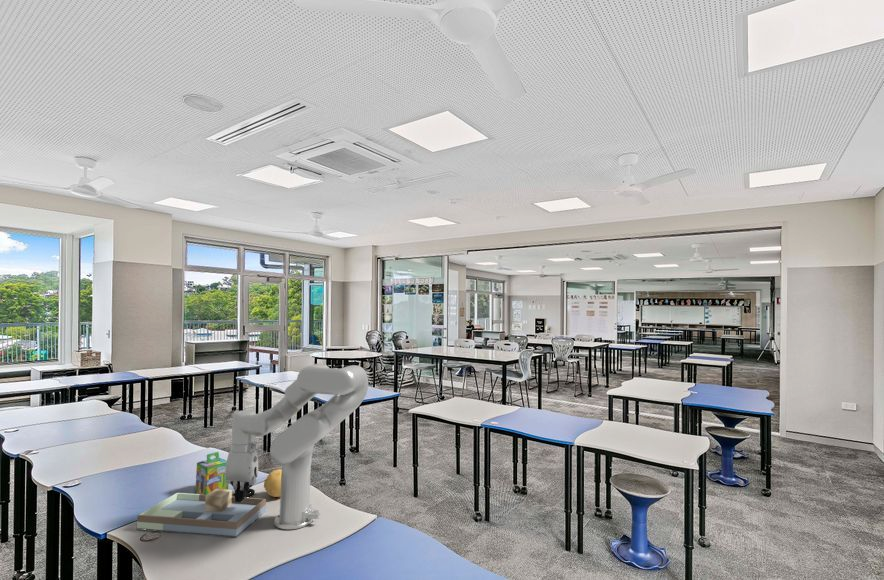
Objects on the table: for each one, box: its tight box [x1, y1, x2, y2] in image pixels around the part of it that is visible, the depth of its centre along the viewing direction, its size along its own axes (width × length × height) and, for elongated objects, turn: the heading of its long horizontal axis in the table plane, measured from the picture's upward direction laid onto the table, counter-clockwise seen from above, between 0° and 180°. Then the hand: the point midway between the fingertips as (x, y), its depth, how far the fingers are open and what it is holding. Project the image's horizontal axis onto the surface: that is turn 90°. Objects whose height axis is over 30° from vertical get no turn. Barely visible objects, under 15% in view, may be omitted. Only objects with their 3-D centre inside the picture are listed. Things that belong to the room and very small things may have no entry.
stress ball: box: [263, 468, 282, 498], centre depth 167 cm, size 10×10×10 cm
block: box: [205, 489, 233, 512], centre depth 151 cm, size 6×6×5 cm
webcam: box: [233, 485, 256, 498], centre depth 167 cm, size 8×8×10 cm
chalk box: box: [195, 451, 229, 495], centre depth 170 cm, size 9×9×15 cm
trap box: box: [136, 492, 267, 539], centre depth 146 cm, size 34×18×4 cm, turn 84°
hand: (239, 500), depth 150 cm, fingers closed
